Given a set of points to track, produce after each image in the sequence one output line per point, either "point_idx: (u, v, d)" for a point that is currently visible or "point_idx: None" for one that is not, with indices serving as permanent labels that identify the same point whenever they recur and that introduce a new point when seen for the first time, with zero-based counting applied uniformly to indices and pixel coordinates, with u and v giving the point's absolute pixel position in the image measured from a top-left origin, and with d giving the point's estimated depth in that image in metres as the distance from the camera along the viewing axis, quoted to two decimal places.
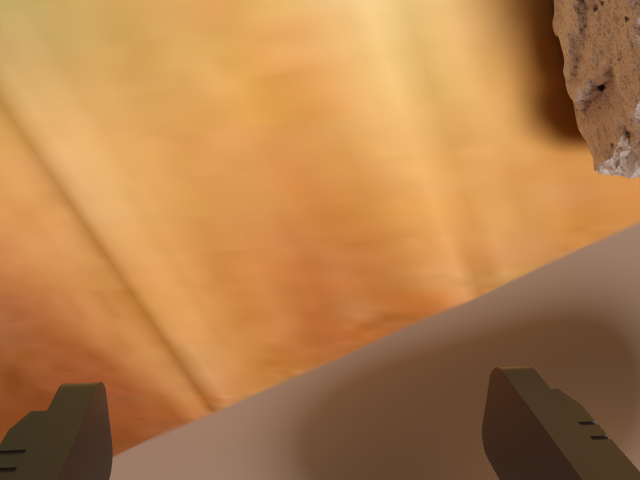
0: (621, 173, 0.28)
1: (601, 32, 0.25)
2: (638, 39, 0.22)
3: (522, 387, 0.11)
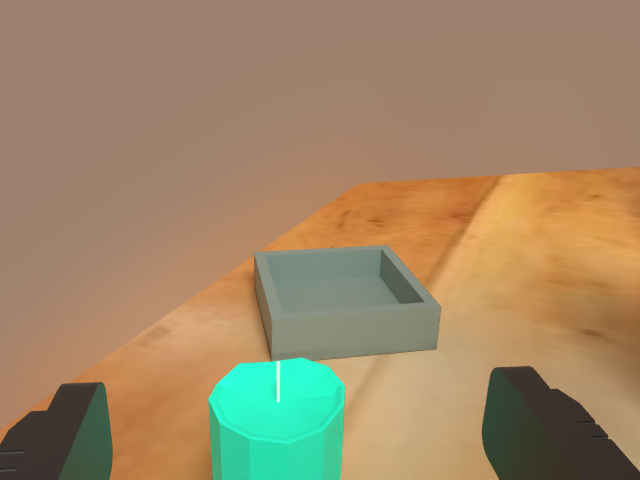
0: None
1: None
2: None
3: (522, 387, 0.11)
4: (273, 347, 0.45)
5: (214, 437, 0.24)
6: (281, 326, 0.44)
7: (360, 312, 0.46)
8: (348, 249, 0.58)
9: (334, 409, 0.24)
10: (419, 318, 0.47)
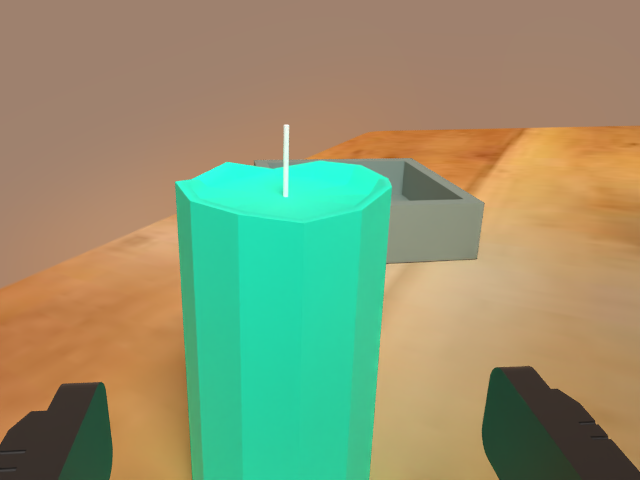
0: None
1: None
2: None
3: (522, 387, 0.11)
4: None
5: (184, 242, 0.15)
6: None
7: None
8: (366, 160, 0.49)
9: (376, 191, 0.15)
10: (457, 217, 0.38)
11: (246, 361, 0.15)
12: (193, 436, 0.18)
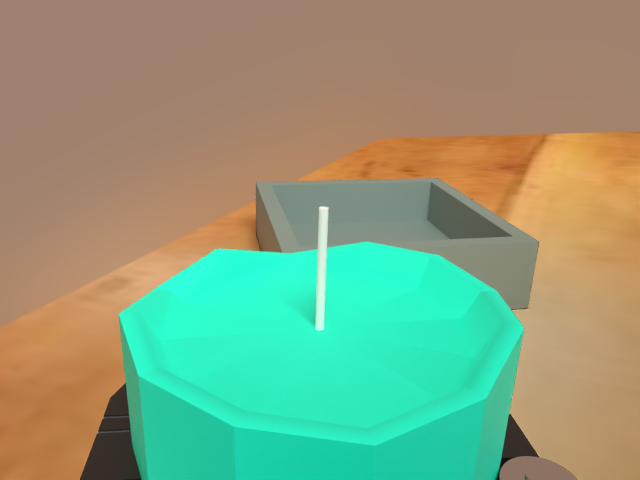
0: None
1: None
2: None
3: None
4: None
5: (135, 426, 0.08)
6: None
7: (418, 247, 0.30)
8: (386, 181, 0.42)
9: (499, 340, 0.08)
10: (506, 259, 0.31)
11: None
12: None
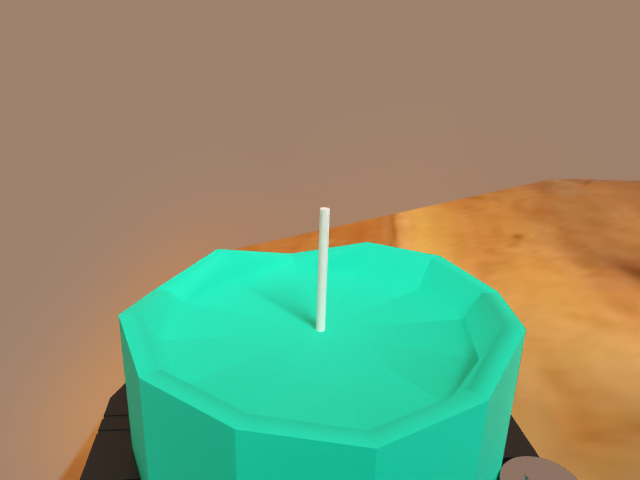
0: None
1: None
2: None
3: None
4: None
5: (135, 428, 0.08)
6: None
7: None
8: None
9: (501, 342, 0.08)
10: None
11: None
12: None
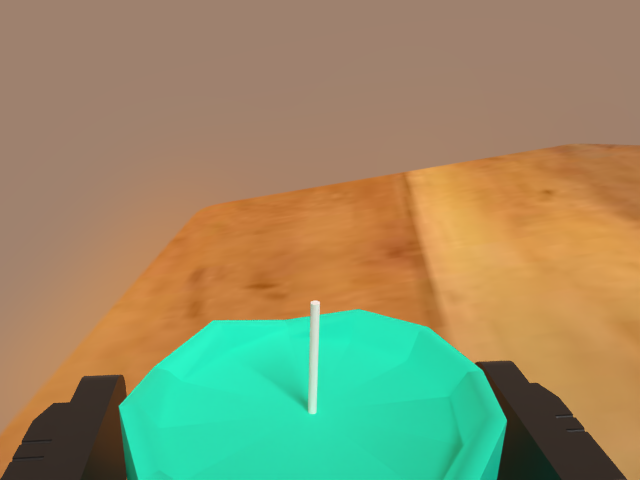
0: None
1: None
2: None
3: (501, 381, 0.11)
4: None
5: None
6: None
7: None
8: None
9: (483, 436, 0.08)
10: None
11: None
12: None
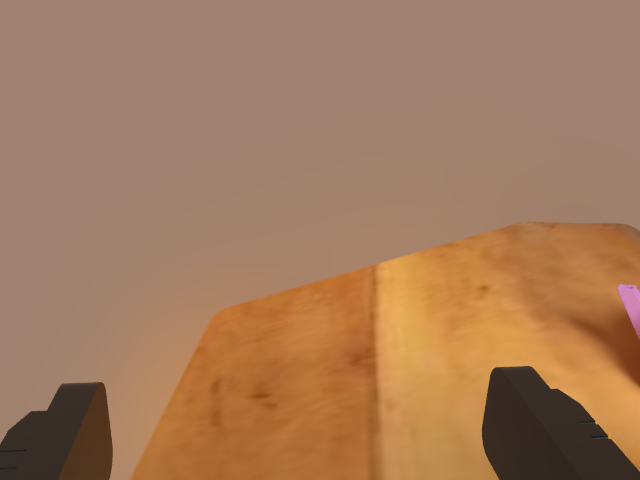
0: None
1: None
2: None
3: (522, 387, 0.11)
4: None
5: None
6: None
7: None
8: None
9: None
10: None
11: None
12: None
